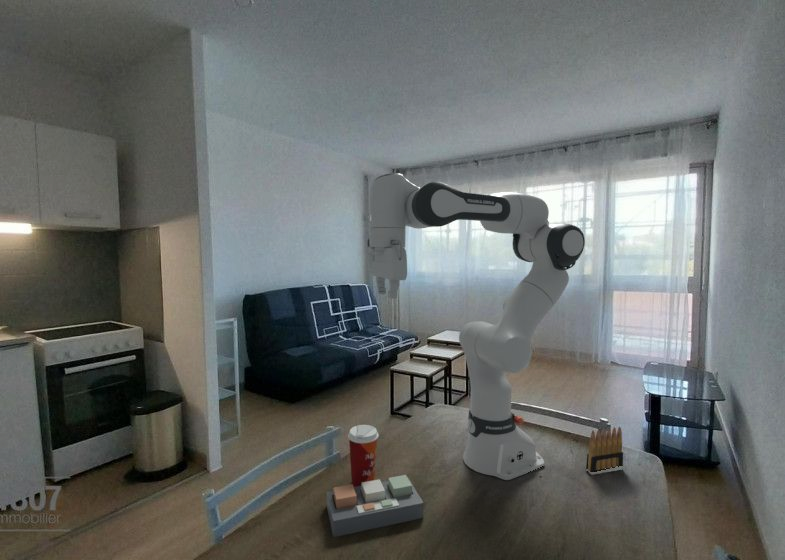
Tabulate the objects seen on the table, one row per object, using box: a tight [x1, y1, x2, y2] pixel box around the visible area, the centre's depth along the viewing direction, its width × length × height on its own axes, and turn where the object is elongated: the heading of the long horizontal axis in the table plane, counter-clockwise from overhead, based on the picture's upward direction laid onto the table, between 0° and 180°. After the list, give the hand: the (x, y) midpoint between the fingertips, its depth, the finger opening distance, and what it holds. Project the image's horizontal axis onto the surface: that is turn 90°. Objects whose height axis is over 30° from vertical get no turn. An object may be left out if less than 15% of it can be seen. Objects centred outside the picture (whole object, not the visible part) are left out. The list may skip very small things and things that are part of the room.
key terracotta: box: [332, 483, 357, 509], centre depth 85 cm, size 4×4×2 cm
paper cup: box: [347, 424, 379, 487], centre depth 96 cm, size 8×8×14 cm
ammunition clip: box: [585, 426, 624, 472], centre depth 103 cm, size 11×2×12 cm, turn 105°
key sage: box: [387, 474, 413, 498], centre depth 89 cm, size 4×4×2 cm
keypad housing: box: [326, 476, 425, 538], centre depth 86 cm, size 20×10×4 cm, turn 108°
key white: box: [361, 479, 385, 503], centre depth 87 cm, size 4×4×2 cm
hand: (386, 296), depth 95 cm, fingers open, 8 cm apart
